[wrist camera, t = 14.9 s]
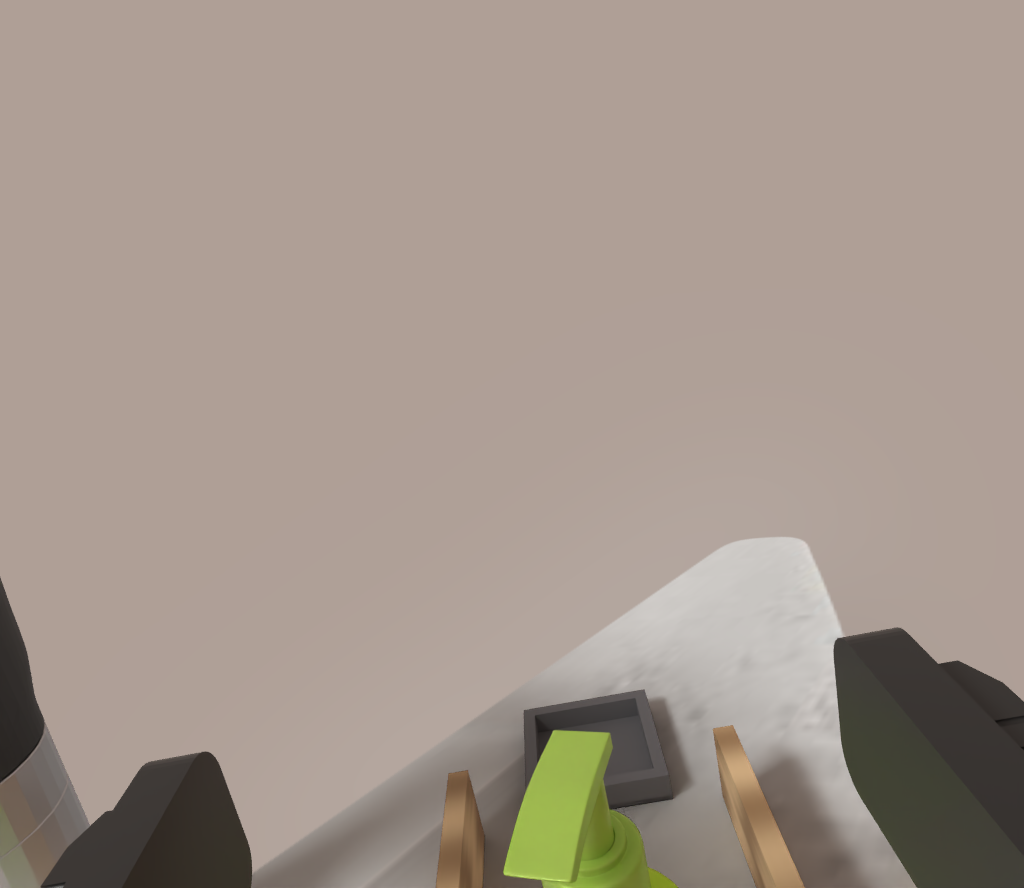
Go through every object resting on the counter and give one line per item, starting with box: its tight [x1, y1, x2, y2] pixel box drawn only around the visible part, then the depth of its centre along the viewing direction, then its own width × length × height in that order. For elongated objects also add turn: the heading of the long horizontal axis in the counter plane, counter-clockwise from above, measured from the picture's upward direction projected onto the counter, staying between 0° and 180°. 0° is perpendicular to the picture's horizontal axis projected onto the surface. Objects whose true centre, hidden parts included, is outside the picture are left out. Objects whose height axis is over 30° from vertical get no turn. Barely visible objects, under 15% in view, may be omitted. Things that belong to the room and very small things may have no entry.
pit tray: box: [524, 690, 673, 809], centre depth 52 cm, size 9×9×2 cm
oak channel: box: [436, 725, 805, 888], centre depth 40 cm, size 14×17×5 cm
